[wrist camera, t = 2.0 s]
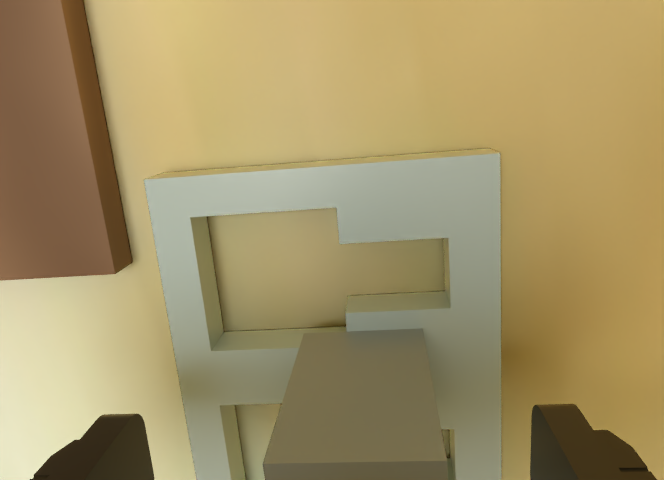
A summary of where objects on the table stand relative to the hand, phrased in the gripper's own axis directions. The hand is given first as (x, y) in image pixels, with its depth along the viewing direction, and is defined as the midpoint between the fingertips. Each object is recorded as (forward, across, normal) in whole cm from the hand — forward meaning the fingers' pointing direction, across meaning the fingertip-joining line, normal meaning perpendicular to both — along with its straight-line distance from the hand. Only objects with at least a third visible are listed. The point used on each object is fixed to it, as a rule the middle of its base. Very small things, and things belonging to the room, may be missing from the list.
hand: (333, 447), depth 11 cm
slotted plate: (+4, 0, 0) cm, 4 cm away
